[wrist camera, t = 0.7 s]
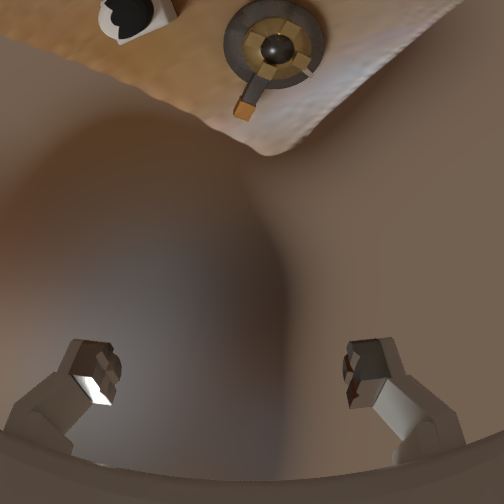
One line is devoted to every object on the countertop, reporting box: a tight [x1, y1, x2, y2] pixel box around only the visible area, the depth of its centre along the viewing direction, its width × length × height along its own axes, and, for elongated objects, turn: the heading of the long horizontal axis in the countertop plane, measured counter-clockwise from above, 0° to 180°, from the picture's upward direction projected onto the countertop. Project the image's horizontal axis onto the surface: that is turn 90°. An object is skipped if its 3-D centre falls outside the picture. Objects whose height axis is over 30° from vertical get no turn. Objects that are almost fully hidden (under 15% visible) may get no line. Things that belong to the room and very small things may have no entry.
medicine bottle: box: [98, 0, 177, 45], centre depth 29 cm, size 7×7×12 cm
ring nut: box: [233, 16, 312, 121], centre depth 38 cm, size 16×9×4 cm, turn 155°
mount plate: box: [223, 0, 324, 89], centre depth 38 cm, size 14×14×3 cm
